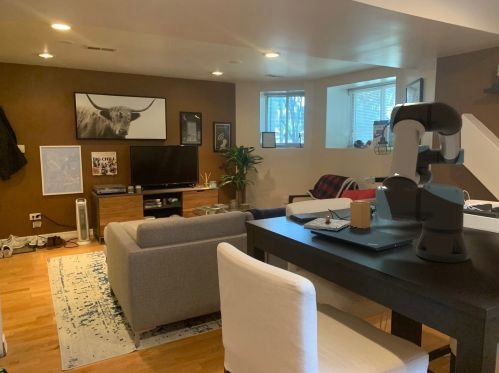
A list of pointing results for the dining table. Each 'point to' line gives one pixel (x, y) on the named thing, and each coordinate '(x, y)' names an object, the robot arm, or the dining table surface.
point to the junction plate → (326, 223)
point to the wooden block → (360, 214)
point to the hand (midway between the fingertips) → (375, 182)
